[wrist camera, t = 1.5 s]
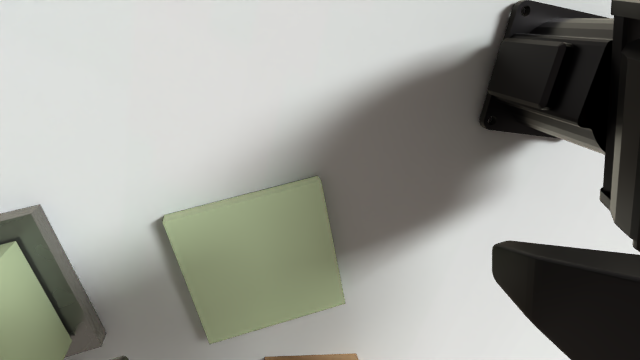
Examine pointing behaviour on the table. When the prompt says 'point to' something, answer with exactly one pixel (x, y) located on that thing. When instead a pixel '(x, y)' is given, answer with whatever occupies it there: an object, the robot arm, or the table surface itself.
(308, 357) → the walnut block
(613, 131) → the robot arm
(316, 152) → the table surface
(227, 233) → the tile
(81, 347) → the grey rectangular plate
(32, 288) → the sage key
